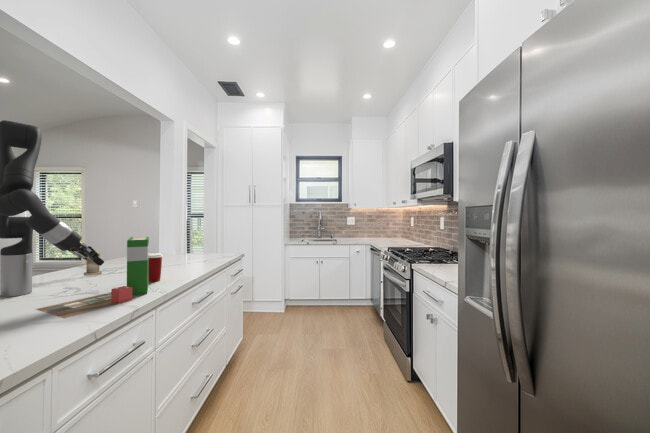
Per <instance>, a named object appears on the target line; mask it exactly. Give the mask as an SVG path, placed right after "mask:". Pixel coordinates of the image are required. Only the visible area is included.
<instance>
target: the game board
mask: <svg viewBox="0 0 650 433" xmlns="http://www.w3.org/2000/svg"><path fill="white" fill-rule="evenodd" d="M131 301H133V299H132V300H129V301H125V302H121V303H117V302H112V301H111V294H110V293H109V294H108V293H102V294H97V295H93V296H87V297H84V298H79V299H75V300H69V301H66V302H61V303H57V304H52V305H48V306H43V307H39V308H35V310H36V311H39V312H43V313H46V314H49V315H52V316H55V317H58V318H59V317H60V318H62V319H67V318H71V317H74V316H78V315H82V314H86V313H89V312H90V313H91V312H93V311H97V310H101V309H104V308H109V307H112V306H113V307H114V306H116V305H119V304H123V303H128V302H131Z"/></svg>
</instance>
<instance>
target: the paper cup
mask: <svg viewBox="0 0 650 433" xmlns="http://www.w3.org/2000/svg"><path fill="white" fill-rule="evenodd" d="M163 257H164V256H163V254H162V253H160V252H158V253H157V252H156V253H149V280H148V283H156V282H160V281H161V275H162V266H163V265H162V262H163Z"/></svg>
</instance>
